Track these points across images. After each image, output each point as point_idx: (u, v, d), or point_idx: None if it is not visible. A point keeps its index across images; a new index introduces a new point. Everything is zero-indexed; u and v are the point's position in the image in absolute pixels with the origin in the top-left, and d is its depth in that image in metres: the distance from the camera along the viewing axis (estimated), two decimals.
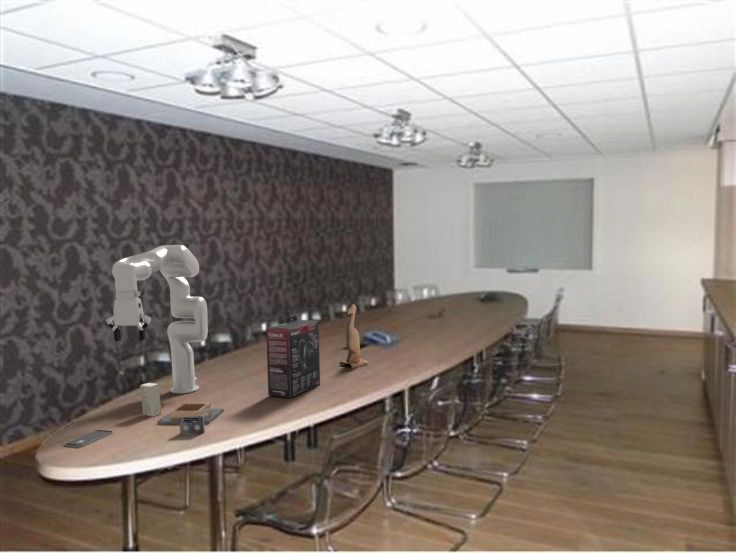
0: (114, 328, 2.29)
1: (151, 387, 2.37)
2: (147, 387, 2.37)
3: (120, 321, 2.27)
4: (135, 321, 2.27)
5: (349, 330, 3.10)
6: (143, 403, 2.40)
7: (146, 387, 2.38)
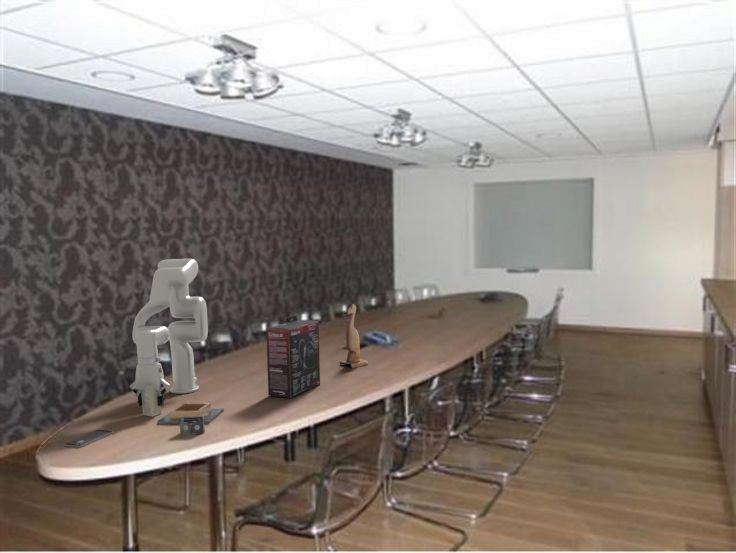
0: (138, 393, 2.39)
1: (151, 387, 2.37)
2: (147, 387, 2.37)
3: (142, 385, 2.38)
4: (156, 386, 2.37)
5: (349, 330, 3.10)
6: (143, 403, 2.40)
7: (146, 387, 2.38)
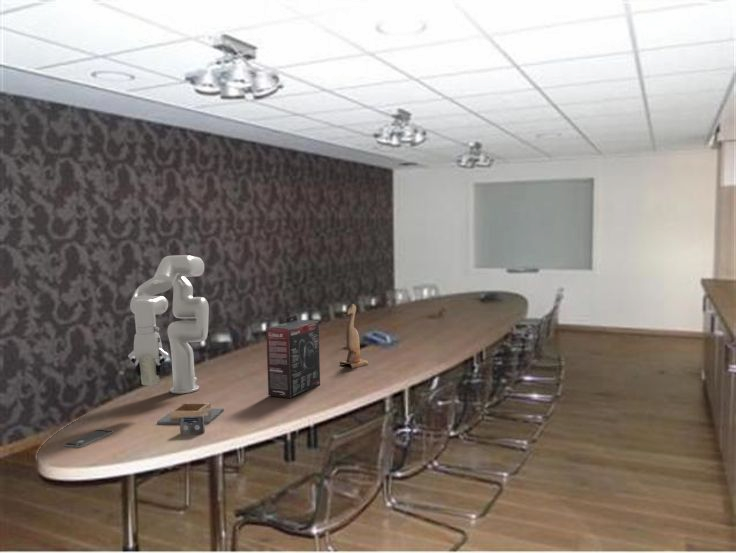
0: (136, 363, 2.39)
1: (149, 356, 2.37)
2: (145, 356, 2.37)
3: (140, 355, 2.37)
4: (154, 355, 2.37)
5: (349, 330, 3.10)
6: (141, 372, 2.40)
7: (144, 356, 2.37)
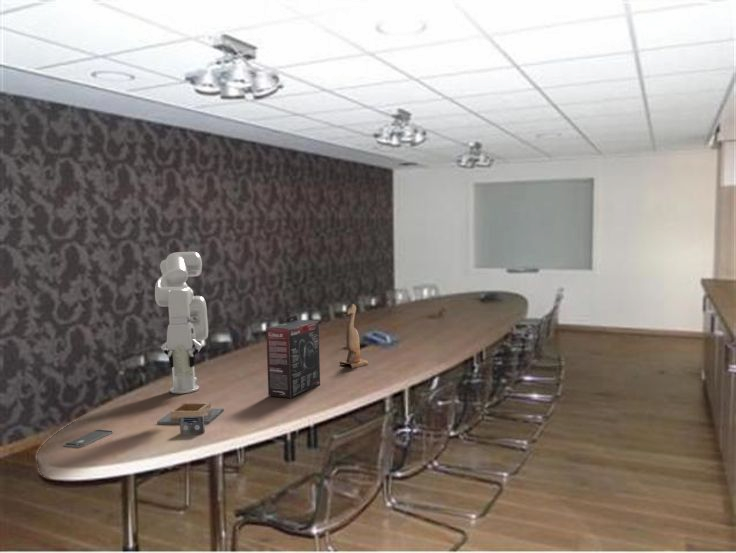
0: (169, 354, 2.33)
1: (183, 347, 2.31)
2: (179, 347, 2.31)
3: (173, 346, 2.32)
4: (188, 346, 2.31)
5: (349, 330, 3.10)
6: (174, 364, 2.33)
7: (178, 347, 2.31)
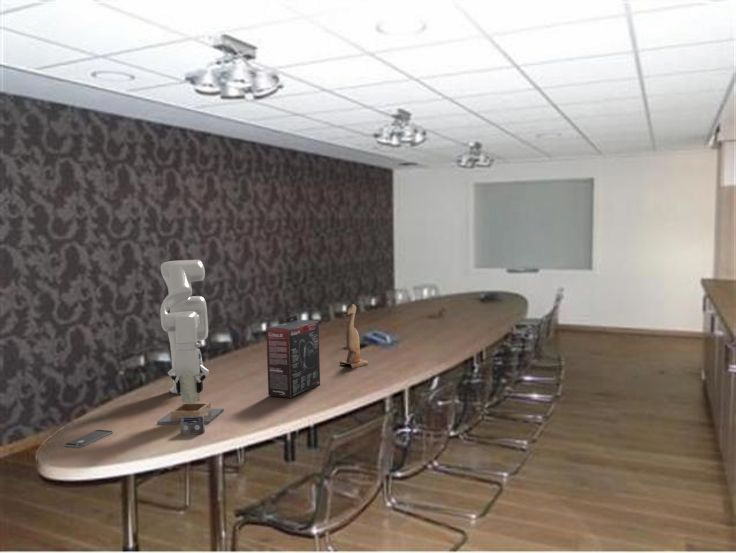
0: (177, 380, 2.33)
1: (190, 373, 2.30)
2: (186, 373, 2.31)
3: (180, 372, 2.31)
4: (195, 372, 2.31)
5: (349, 330, 3.10)
6: (181, 389, 2.33)
7: (185, 373, 2.31)
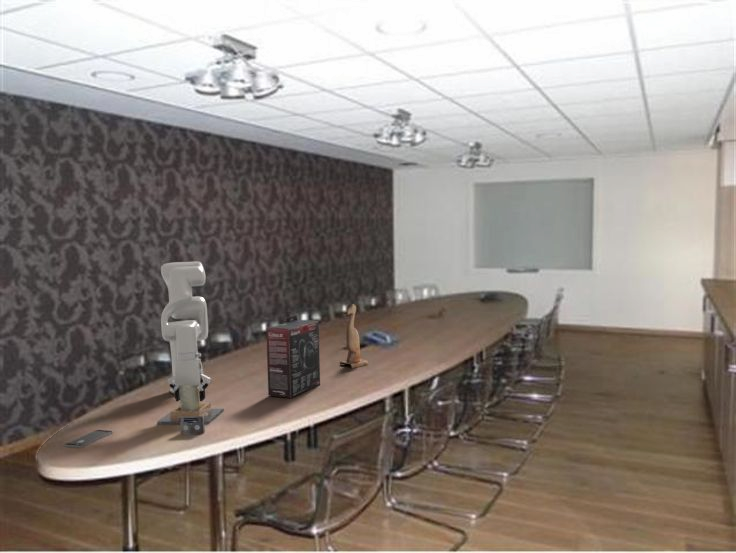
0: (175, 388, 2.33)
1: (190, 386, 2.31)
2: (186, 386, 2.31)
3: (181, 382, 2.32)
4: (196, 382, 2.31)
5: (349, 330, 3.10)
6: (181, 403, 2.34)
7: (185, 386, 2.32)
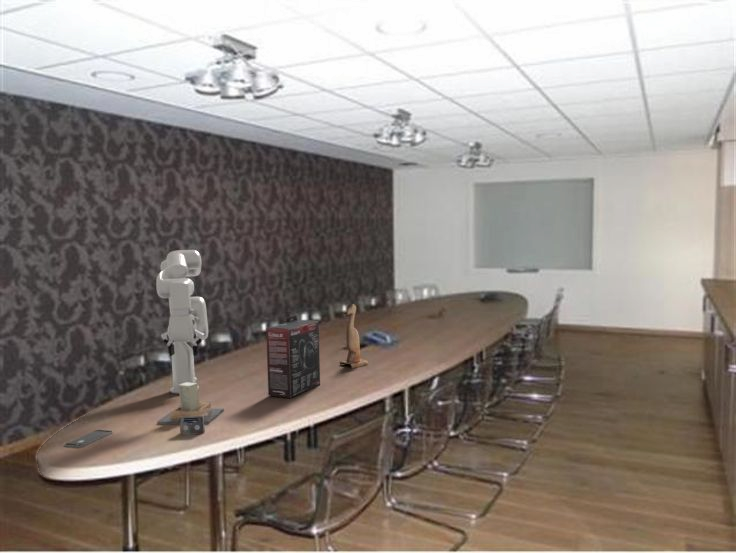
0: (169, 343, 2.39)
1: (190, 386, 2.31)
2: (186, 386, 2.31)
3: (175, 337, 2.38)
4: (189, 337, 2.37)
5: (349, 330, 3.10)
6: (181, 403, 2.34)
7: (185, 386, 2.32)
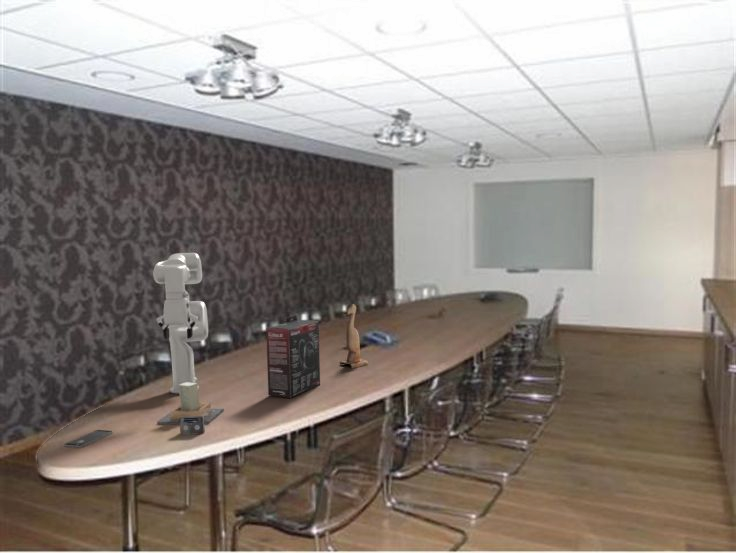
0: (164, 326, 2.48)
1: (190, 386, 2.31)
2: (186, 386, 2.31)
3: (170, 320, 2.46)
4: (184, 320, 2.46)
5: (349, 330, 3.10)
6: (181, 403, 2.34)
7: (185, 386, 2.32)
